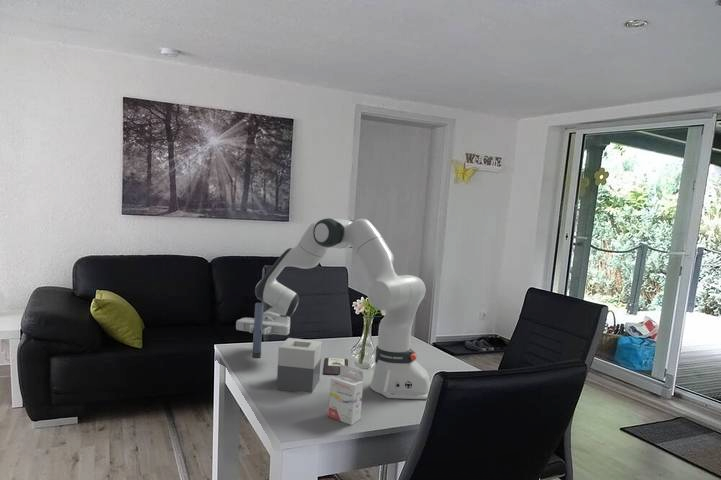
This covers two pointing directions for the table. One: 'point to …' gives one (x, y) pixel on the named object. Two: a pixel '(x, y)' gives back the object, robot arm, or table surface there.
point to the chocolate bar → (334, 366)
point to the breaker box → (299, 365)
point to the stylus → (257, 330)
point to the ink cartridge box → (346, 395)
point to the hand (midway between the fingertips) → (257, 331)
